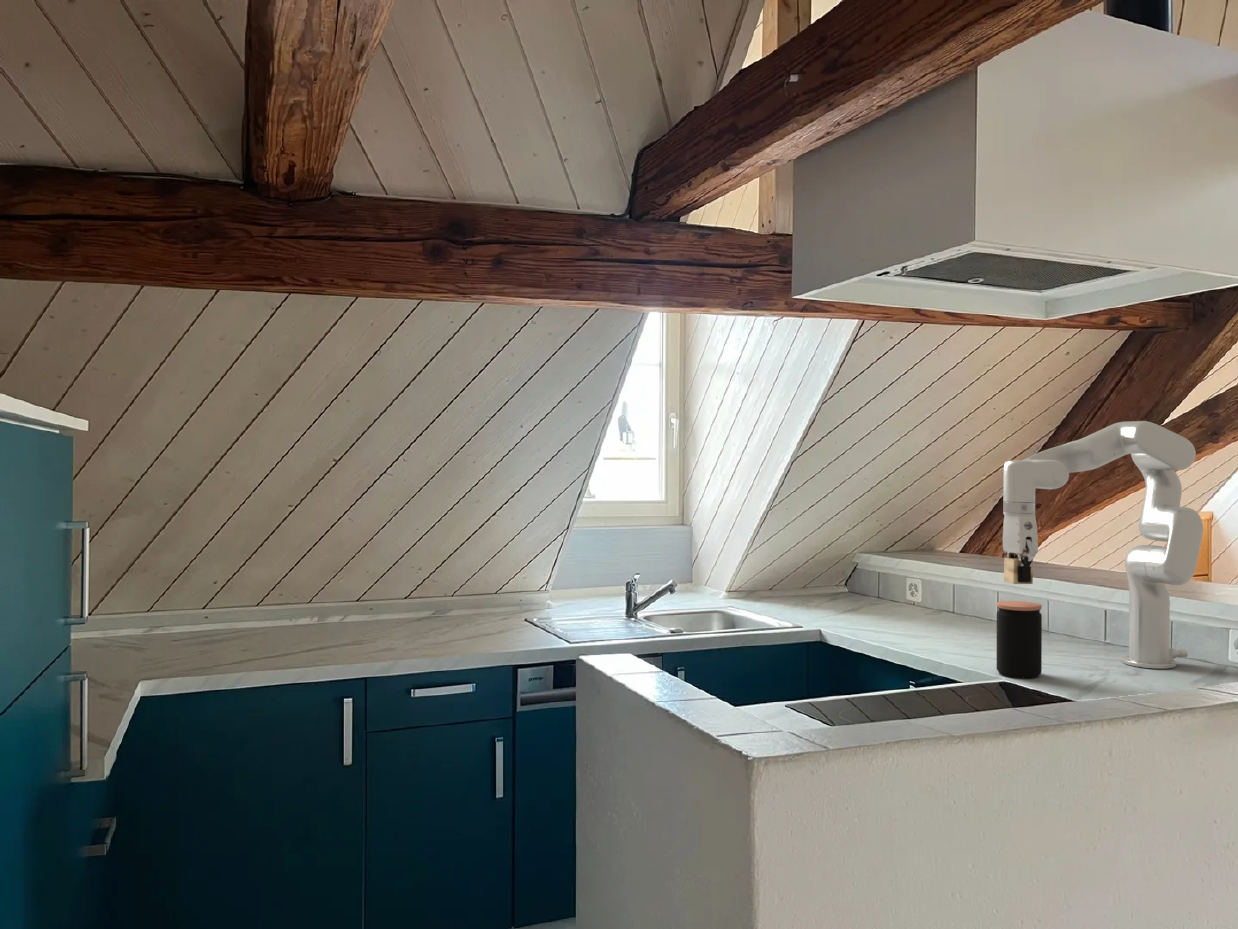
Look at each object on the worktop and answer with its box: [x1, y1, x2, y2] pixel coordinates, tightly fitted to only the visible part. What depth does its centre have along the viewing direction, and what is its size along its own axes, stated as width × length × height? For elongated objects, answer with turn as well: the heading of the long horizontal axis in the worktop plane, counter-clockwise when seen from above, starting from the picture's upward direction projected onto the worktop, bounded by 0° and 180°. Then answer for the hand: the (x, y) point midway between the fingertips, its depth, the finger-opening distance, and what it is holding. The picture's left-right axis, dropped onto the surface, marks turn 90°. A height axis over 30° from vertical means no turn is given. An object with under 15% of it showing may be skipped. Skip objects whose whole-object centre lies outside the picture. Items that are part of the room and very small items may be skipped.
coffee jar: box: [996, 600, 1043, 680], centre depth 253 cm, size 11×11×18 cm
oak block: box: [1003, 557, 1034, 585], centre depth 253 cm, size 5×5×6 cm
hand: (1018, 580), depth 253 cm, fingers closed on oak block, 5 cm apart
